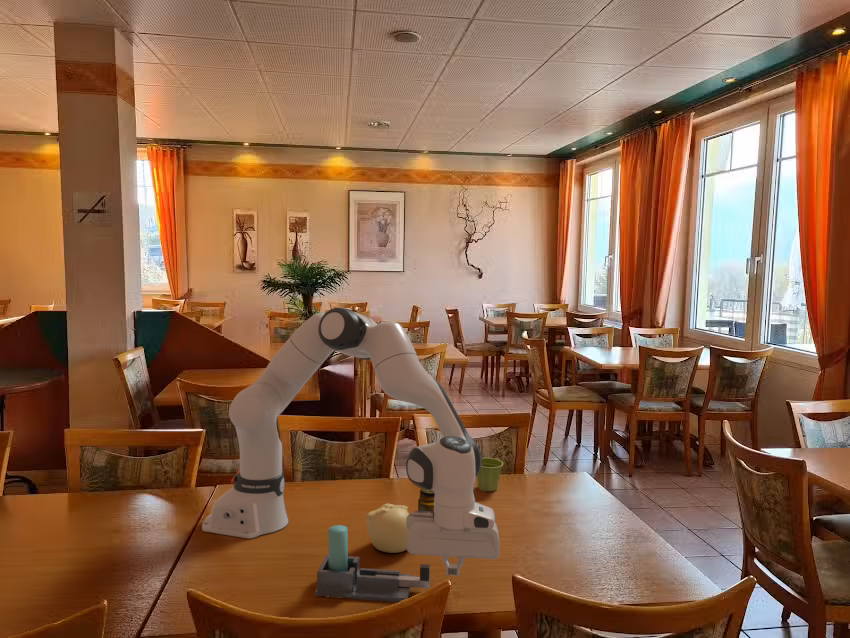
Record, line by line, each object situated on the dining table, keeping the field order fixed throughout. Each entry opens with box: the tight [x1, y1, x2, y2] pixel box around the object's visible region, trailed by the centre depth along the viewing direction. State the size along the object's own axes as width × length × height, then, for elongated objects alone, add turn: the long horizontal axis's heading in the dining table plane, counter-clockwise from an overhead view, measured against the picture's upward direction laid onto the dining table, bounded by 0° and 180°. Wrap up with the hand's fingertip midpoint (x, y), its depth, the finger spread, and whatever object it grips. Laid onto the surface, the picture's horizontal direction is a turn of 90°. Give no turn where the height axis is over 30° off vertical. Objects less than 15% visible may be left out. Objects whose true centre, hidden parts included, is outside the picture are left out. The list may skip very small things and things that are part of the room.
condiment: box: [417, 488, 435, 512], centre depth 165 cm, size 7×8×12 cm
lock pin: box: [375, 563, 431, 589], centre depth 136 cm, size 12×2×5 cm, turn 85°
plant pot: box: [476, 457, 504, 493], centre depth 198 cm, size 9×9×9 cm
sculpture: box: [365, 503, 410, 554], centre depth 157 cm, size 11×12×11 cm
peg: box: [327, 524, 349, 571], centre depth 137 cm, size 4×4×12 cm
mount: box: [314, 554, 413, 603], centre depth 137 cm, size 20×10×5 cm, turn 85°
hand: (452, 574), depth 136 cm, fingers closed
